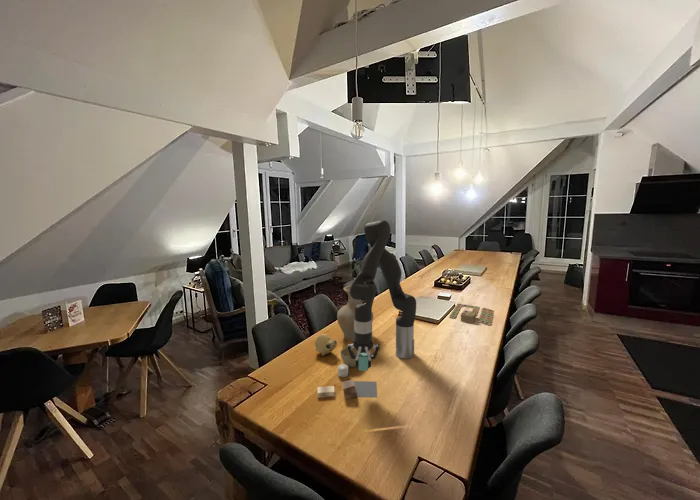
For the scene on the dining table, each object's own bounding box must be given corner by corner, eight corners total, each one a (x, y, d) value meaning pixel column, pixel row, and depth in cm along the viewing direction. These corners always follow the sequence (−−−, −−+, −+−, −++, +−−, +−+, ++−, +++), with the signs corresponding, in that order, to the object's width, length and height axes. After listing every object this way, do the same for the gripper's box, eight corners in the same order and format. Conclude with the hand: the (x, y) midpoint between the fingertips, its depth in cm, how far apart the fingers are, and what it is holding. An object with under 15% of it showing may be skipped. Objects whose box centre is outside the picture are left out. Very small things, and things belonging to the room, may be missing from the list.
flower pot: (363, 361, 152) (362, 348, 151) (357, 372, 143) (356, 358, 142) (344, 358, 155) (344, 345, 154) (337, 368, 146) (337, 355, 145)
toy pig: (327, 361, 153) (326, 341, 152) (311, 353, 161) (310, 335, 159) (340, 353, 161) (339, 335, 159) (324, 346, 168) (324, 329, 167)
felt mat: (376, 382, 134) (376, 381, 134) (377, 398, 123) (377, 397, 123) (352, 382, 135) (352, 381, 135) (350, 398, 124) (350, 396, 124)
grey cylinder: (346, 370, 144) (345, 363, 143) (350, 376, 139) (349, 369, 138) (336, 373, 142) (336, 365, 141) (340, 379, 137) (339, 371, 136)
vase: (331, 340, 176) (330, 291, 171) (345, 326, 196) (344, 282, 191) (366, 346, 167) (366, 295, 163) (377, 331, 187) (377, 285, 183)
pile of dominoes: (491, 327, 192) (491, 319, 191) (447, 319, 205) (448, 312, 204) (495, 310, 222) (495, 303, 221) (457, 304, 235) (457, 297, 234)
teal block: (368, 365, 129) (368, 352, 128) (368, 370, 125) (368, 357, 124) (358, 365, 129) (358, 352, 129) (358, 370, 126) (358, 357, 125)
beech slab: (334, 392, 128) (334, 385, 128) (334, 398, 124) (334, 391, 124) (317, 393, 128) (317, 387, 127) (317, 399, 124) (317, 392, 123)
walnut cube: (355, 389, 128) (353, 379, 127) (357, 396, 123) (354, 385, 122) (344, 392, 127) (341, 382, 127) (345, 400, 122) (342, 389, 122)
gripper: (379, 326, 128) (379, 363, 131) (346, 325, 129) (347, 362, 132) (380, 333, 121) (380, 372, 123) (345, 333, 121) (346, 371, 124)
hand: (363, 367), depth 127 cm, fingers closed on teal block, 4 cm apart
